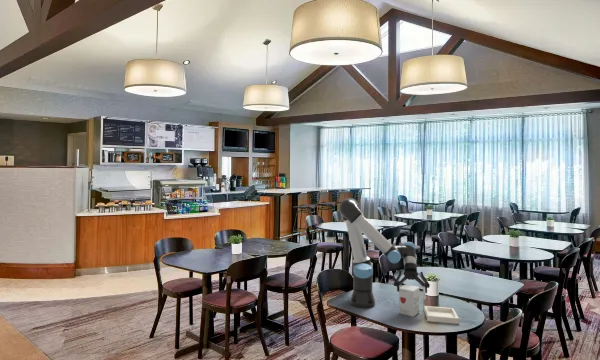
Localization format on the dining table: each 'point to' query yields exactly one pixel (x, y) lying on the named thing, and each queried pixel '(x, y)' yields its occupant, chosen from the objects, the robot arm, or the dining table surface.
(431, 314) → the stoneware dish
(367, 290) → the robot arm
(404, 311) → the supplement box
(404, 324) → the dining table surface
